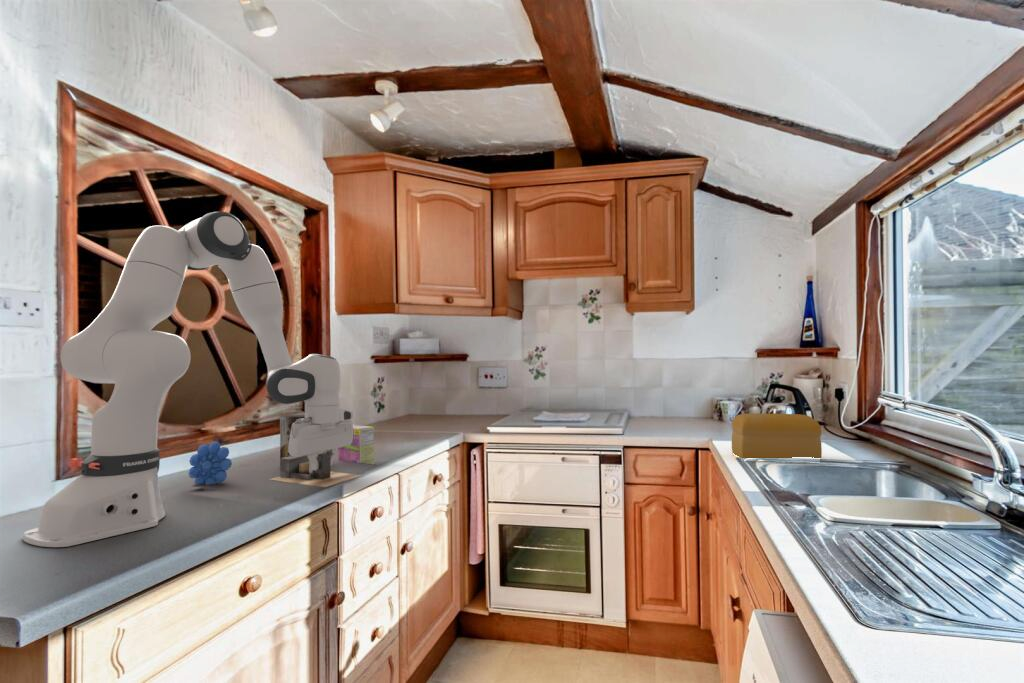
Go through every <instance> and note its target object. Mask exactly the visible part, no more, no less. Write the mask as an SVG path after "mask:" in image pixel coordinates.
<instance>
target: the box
mask: <svg viewBox="0 0 1024 683" xmlns="http://www.w3.org/2000/svg"><path fill="white" fill-rule="evenodd" d="M337 449H338V450H337V452H338V453H337V455H338V456H337V458H338V459H337V460H338V461H340V462H341V461H342V462H348V463H349V462H350V463H356V464H367V465H368V464H369V465H375V426H368V425H360V424H359V425H358V424H353V441H352V443H351V445H349V446H345V447H340V448H337Z"/></svg>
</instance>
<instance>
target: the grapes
mask: <svg viewBox="0 0 1024 683" xmlns="http://www.w3.org/2000/svg"><path fill="white" fill-rule="evenodd" d="M229 454H230V450H229V448H228V447H225V446H222V447H221V443H220V442H218V441H215V440H214V441H212V442H211V443H209V444H201V445H200V446H198V448H197V450H196V453H195V454H192V455H191V457H190V458H189V461H188V462H189V465H190V466H191V467H190V469H189V471H188V473H187V474H188V477H189V478H190V479H194V486H196V485H200V484H201V485H202V484H204V485H214V484H218V483H223V482H225V480H227V477H228V473H227V471H228V470H230V468H231V467H232V464H233V463H232V459H230V458H228V457H229Z"/></svg>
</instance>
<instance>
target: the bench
mask: <svg viewBox="0 0 1024 683" xmlns="http://www.w3.org/2000/svg"><path fill="white" fill-rule="evenodd" d="M301 462H309V459H308V455H306V456H301V457H295V456H289V457H284V458H281V461H280V460H279V466H280V470H279V471H280V472H279V475H280V476H277V477H272V478H268V480H269V481H275V482H277V481H278V482H283V483H284V482H285V483H291V484H298V485H306V486H312V487H313V486H314V487H321V488H327V487H330V486H334V485H336V484H340V483H343V482H345V481H350V480H352V479H355V478H359V477H362V476H363V475H362V474H354V473H348V472H347V473H346V472H337V471H332V470H330V478H327V479H323V480H320V479H311V475H309V474H301V473H299V463H301Z"/></svg>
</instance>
